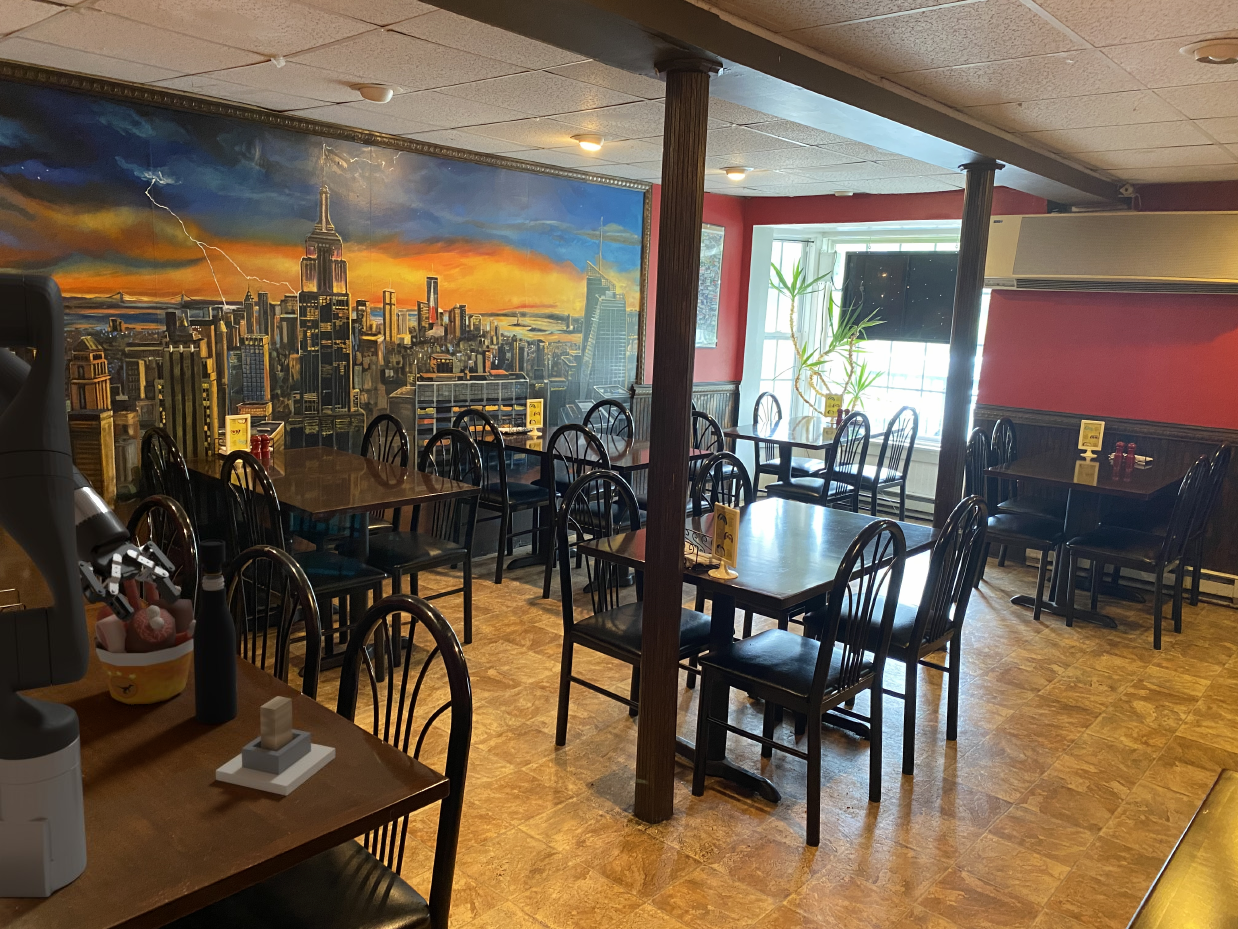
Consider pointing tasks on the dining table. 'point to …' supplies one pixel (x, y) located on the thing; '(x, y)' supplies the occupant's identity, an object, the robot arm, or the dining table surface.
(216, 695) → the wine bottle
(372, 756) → the dining table surface
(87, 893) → the dining table surface
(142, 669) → the bucket of meat
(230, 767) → the socket base
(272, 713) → the slat
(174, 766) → the dining table surface
